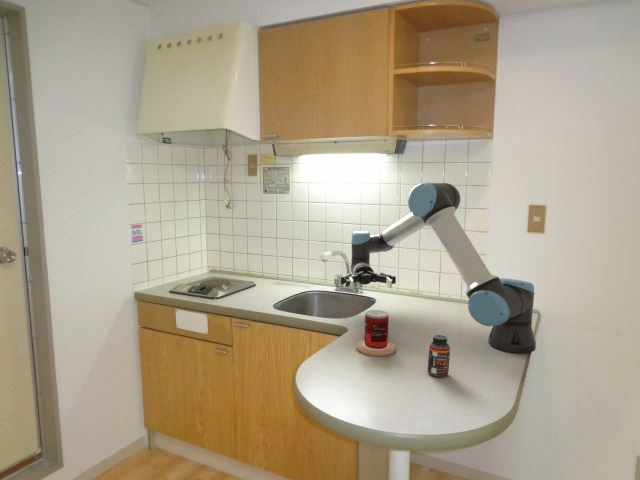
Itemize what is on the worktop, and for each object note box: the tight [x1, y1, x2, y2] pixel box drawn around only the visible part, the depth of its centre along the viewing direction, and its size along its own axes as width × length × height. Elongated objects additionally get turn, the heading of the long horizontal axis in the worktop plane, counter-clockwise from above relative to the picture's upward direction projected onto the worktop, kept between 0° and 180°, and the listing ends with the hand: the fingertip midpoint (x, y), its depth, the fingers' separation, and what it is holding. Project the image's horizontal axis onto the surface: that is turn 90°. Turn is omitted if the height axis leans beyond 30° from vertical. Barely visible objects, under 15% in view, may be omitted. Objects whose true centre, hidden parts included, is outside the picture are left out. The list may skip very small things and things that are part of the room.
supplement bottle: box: [427, 334, 451, 378], centre depth 136 cm, size 6×6×11 cm
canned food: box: [364, 309, 390, 349], centre depth 155 cm, size 8×8×11 cm
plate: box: [355, 339, 397, 357], centre depth 156 cm, size 13×13×1 cm
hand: (371, 284), depth 163 cm, fingers open, 13 cm apart
